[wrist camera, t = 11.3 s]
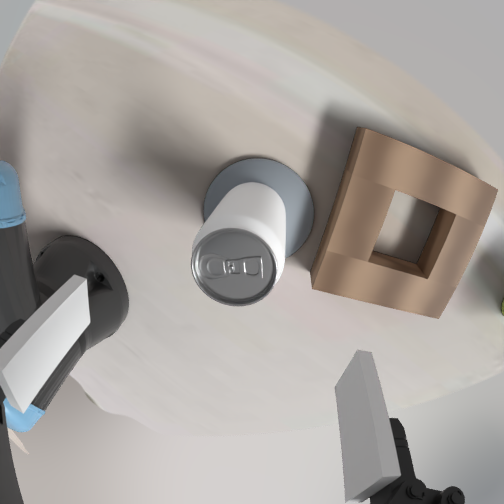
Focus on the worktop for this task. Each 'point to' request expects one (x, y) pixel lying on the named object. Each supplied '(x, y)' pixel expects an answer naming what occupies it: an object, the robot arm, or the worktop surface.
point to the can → (241, 246)
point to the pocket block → (373, 215)
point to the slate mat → (281, 182)
